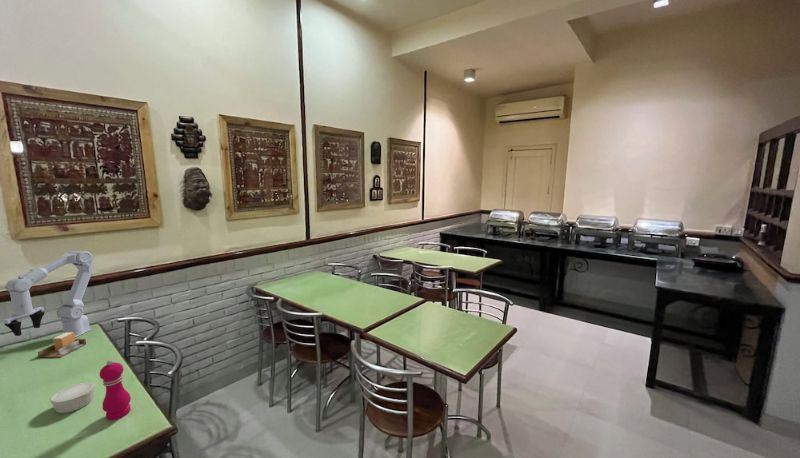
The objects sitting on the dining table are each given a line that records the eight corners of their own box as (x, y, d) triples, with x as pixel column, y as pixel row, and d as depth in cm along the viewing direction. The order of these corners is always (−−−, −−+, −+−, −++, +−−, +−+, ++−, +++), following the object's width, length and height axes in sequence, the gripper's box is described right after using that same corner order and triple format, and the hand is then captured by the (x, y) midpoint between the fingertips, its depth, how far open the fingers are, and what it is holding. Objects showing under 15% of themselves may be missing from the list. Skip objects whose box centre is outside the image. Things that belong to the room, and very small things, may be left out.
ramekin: (64, 398, 118) (62, 385, 117) (103, 391, 122) (100, 378, 121) (44, 419, 107) (41, 405, 107) (86, 410, 111) (84, 397, 110)
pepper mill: (99, 419, 107) (89, 364, 104) (123, 404, 114) (114, 352, 111) (114, 423, 105) (104, 367, 102) (137, 408, 112) (129, 355, 109)
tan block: (68, 344, 156) (66, 332, 155) (76, 344, 156) (74, 332, 155) (55, 350, 150) (52, 338, 149) (63, 350, 150) (61, 338, 149)
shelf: (66, 344, 157) (65, 339, 157) (86, 344, 157) (85, 338, 157) (38, 357, 145) (37, 352, 145) (60, 357, 145) (59, 351, 145)
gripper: (31, 298, 155) (36, 324, 157) (-7, 310, 140) (0, 339, 143) (45, 298, 155) (51, 324, 157) (9, 310, 140) (16, 339, 142)
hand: (27, 331), depth 150 cm, fingers open, 7 cm apart
